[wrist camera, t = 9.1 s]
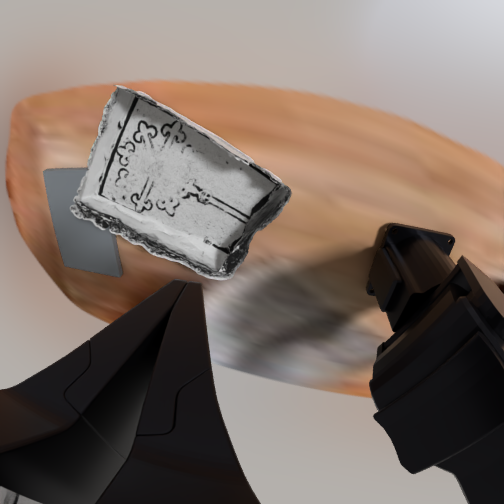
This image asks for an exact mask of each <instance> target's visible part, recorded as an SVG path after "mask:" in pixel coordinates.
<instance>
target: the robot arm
mask: <svg viewBox="0 0 504 504" xmlns="http://www.w3.org/2000/svg"><path fill="white" fill-rule="evenodd" d="M395 228H396V230H395V231H394V232H392V230H393V229H395ZM450 239H451V240H450ZM449 240H450V241H449ZM448 241H449V242H448ZM454 243H455V238H454V237H453V236H452V235H451V234H447V233H443V232H438V231H433V230H428V229H423V228H418V227H413V226H408V225H403V224H398V223H392V224H390V225H389V226H388V227H387V230H386V233H385V236H384V240H383V243H382V245H381V248H380V249H378V251H377V254H376V257H375V259H374V262H373V265H372V268H371V270H370V273H369V281H368V284H367V287H366V291H367V294H368V295H372V296H376V298H377V301H378V304H379V307H380V309H381V311H382V312H386V313H387V316H388V319H389V322H390V325H391V328H392V331H393V332H395V333H394V334H393V335H392V336H391V337H390V338H389V339H388V340H387V341H386V342H383V343H382V344H381V345H380V346H379V347H378V349H377V358H376V361H375V363H374V365H373V379H371V380H370V382H369V387H370V391H371V396H372V398H373V400H374V403H375V406H376V408H377V410H378V412H377V413H375V414H374V416H373V417H374V419H375V420H376V421H377V422H378V423H379V424H380V425H381V426H382V427H383V428H384V430H385V431H386V433H387V434H388V436H389V437H390V438H391V441H392V443H393V445H394V447H395V450H396V452H397V455H398V458H399V461H400V463H401V465H402V466H403V467H404V468H405V469H406V470H408V471H409V472H410V473H411V474H416V473H418V472H421V471H423V470H425V469H427V468H430V467H432V466H436V467H438V468H440V469H443V470H445V471H448V472H449V473H452V474H453V475H454V476H455V477H456V479H457V481H458V483H459V485H460V487H461V490H462V492H463V494H464V496H465V498H466V500H467V503H468V504H504V295H503V293H502V292H501V291H500V289H499V288H498V287H497V286H496V284H495V283H494V282H493V281H492V280H491V279H490V278H489V277H488V276H487V275H485V274H484V273H483V272H482V271H481V270H480V269H479V268H477V267H476V266H475V265H474V264H473V263H471V262H470V261H469V260H468V259H467V258H465V257H464V256H463V255H462V256H461V257H460V259H459V260H458V261H457V263H458V264H457V265H455V263H454V262H453V261H452V259H451V258H450V257H449V255H450V253H451V250H452V248H453V246H454ZM372 288H373V290H371V289H372ZM0 504H261V503H260V502H259V500H258V499H257V497H256V495H255V493H254V492H253V490H252V488H251V486H250V485H249V483H248V481H247V479H246V477H245V475H244V472H243V470H242V468H241V465H240V463H239V461H238V458H237V456H236V453H235V451H234V448H233V445H232V442H231V440H230V437H229V434H228V431H227V429H226V426H225V423H224V420H223V417H222V414H221V411H220V407H219V404H218V401H217V396H216V391H215V386H214V379H213V373H212V366H211V358H210V351H209V343H208V335H207V326H206V317H205V308H204V298H203V288H202V284H201V283H199V282H192V281H190V282H187V281H185V280H179V279H174V280H172V281H171V282H169V283H168V284H167V285H165V286H164V287H162V288H161V289H159V290H158V291H156V292H155V293H154V294H152V295H151V296H149V297H148V298H146V299H145V300H144V301H142V302H141V303H139V304H138V305H136V306H135V307H134V308H132V309H131V310H129V311H128V312H127V313H125V314H124V315H122V316H121V317H119V318H118V319H117V320H115V321H114V322H112V323H111V324H110V325H108V326H107V327H105V328H104V329H103V330H101V331H100V332H99V333H97V334H96V335H94V336H93V337H92V338H90V340H87V341H86V342H85V343H83V344H82V345H81V346H79V347H78V348H76V349H75V350H73V351H72V352H70V353H69V354H68V355H66V356H65V357H63V358H61V359H60V360H58V361H57V362H55V363H53V364H52V365H50V366H48V367H47V368H45V369H44V370H42V371H40V372H38V373H37V374H35V375H33V376H31V377H30V378H28V379H26V380H25V381H23V382H21V383H19V384H18V385H16V386H13V387H11V388H7V389H2V390H0Z"/></svg>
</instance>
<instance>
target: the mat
mask: <svg viewBox="0 0 504 504" xmlns="http://www.w3.org/2000/svg"><path fill="white" fill-rule="evenodd" d="M88 170H89V169H88V168H56V169H46V170H44V171H43V174H44V181H45V187H46V192H47V198H48V203H49V208H50V212H51V217H52V221H53V226H54V230H55V234H56V238H57V241H58V245H59V249H60V252H61V256H62V259H63V262H64V265H65V266H66V267H70V268H75V269H80V270H85V271H89V272H94V273H99V274H104V275H110V276H115V277H121V275H122V274H123V272H122V267H121V263H120V257H119V252H118V247H117V241H116V235H115V234H113V233H111V232H110V231H109V229H110V226H109V227H108V228H106V229H105V230H101V229H100V228H99V227H96V226H95V225H94V223H93V222H92V221H90V220H83V218H81V219H79V218H77V217H76V216H74V214H73V212H71V210H70V206H72V205H75V202H74V201H73V199H74V197H75V196H78V193H77V190H78V188H79V187H80V183H81V180H82V178H83V177H84V176H86V172H87V171H88Z"/></svg>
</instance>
